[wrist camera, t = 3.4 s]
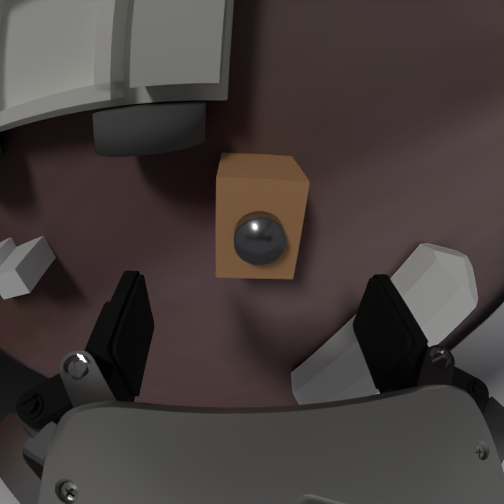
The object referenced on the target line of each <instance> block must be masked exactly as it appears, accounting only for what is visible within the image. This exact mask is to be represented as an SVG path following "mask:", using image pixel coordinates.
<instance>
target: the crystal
mask: <svg viewBox="0 0 504 504" xmlns="http://www.w3.org/2000/svg"><path fill="white" fill-rule="evenodd" d="M390 279H391V281H392V283H393V284H394V286H395V287H396V289H397V290H398V292H399V293H400V295H401V296H402V298H403V300H404V301H405V303H406V304H407V306H408V308H409V309H410V311H411V313H412V314H413V316H414V318H415V319H416V321H417V323H418V324H419V326H420V328H421V329H422V331H423V333H424V335H425V336H426V338H427V340H428V343H427V345H428V346H429V347H430V346H433V345H437V344H439V343H440V342H441V341H442V340H443V339H444V338H445V337H446V336H447V335H448V334H449V333H450V332H451V331H453V330H454V329H455V328H456V327H457V326H458V325H459V324H460V323H461V322H462V321H463V320H464V319H465V318H466V317H467V316H468V315H469V314H470V312H471V311H472V310H473V309H474V308H475V307H476V305H477V301H478V294H477V288H476V283H475V277H474V272H473V267H472V265H471V263H470V261H469V259H468V257H467V256H466V255H464V254H462V253H461V252H459V251H457V250H453V249H449V248H445V247H442V246H438V245H434V244H430V243H424V244H420V245H419V246H418V247H417V248H416V249H415V251H414V252H413V253H412V254H411V255H410V256H409V258H408V259H407V260H406V261H405V262H404V263H403V264H402V266H401V267H400V268H399V269H398V270H397V271H396V272H395V274H394V275H393V276H392V277H391V278H390ZM355 316H356V314H355V315H354V316H353V317H352V318H351V319H350V320H349V321H348V322H347V323H346V324H345V325H344V326H343V327H342V328H341V329H340V330H339V331H338V332H337V333H336V334H335V335H333V336H332V337H331V338H330V339H329V340H328V341H327V342H326V343H325V344H324V345H323V346H321V347H320V348H319V349H318V350H317V351H316V352H315V353H314V354H312V355H311V356H310V357H309V358H308V359H307V360H306V361H304V362H303V363H302V364H301V365H300V366H298V367H297V368H296V369H295V370H294V371H293V372H291V382H292V393H293V395H294V397H295V398H296V400H297V402H298V404H299V405H302V404H313V403H322V402H331V401H338V400H346V399H352V398H359V397H365V396H370V395H374V394H375V393H377V392H378V391H379V390H377V389H376V388H375V385H374V383H373V380H372V377H371V374H370V372H369V369H368V366H367V364H366V361H365V358H364V356H363V353H362V351H361V348H360V346H359V343H358V341H357V338H356V335H355V333H354V331H353V321H354V318H355ZM351 345H352V346H351ZM344 351H345V352H344ZM337 357H338V358H337ZM331 362H332V363H331ZM326 366H327V367H326ZM321 370H322V371H321ZM316 374H317V375H316ZM311 378H312V379H311Z"/></svg>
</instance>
